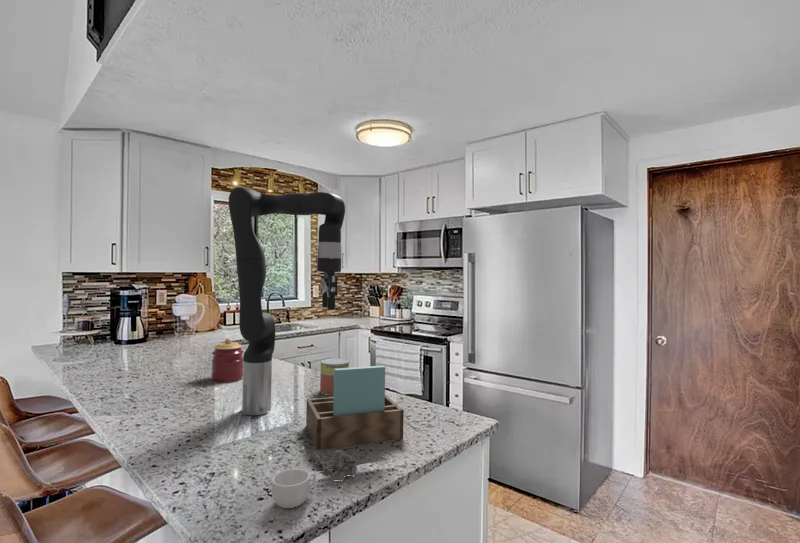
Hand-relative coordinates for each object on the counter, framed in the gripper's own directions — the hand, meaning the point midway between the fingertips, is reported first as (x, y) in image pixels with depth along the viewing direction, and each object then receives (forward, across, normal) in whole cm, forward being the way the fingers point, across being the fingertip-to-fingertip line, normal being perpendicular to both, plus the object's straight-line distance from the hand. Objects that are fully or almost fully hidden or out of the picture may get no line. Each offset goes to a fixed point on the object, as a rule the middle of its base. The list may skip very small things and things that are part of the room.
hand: (328, 308), depth 134 cm
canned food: (+36, -34, +10) cm, 51 cm away
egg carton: (+37, +33, -4) cm, 49 cm away
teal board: (+35, +20, +5) cm, 40 cm away
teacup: (+36, +43, -15) cm, 58 cm away
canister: (+36, -66, -30) cm, 81 cm away
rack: (+36, +14, +5) cm, 39 cm away
